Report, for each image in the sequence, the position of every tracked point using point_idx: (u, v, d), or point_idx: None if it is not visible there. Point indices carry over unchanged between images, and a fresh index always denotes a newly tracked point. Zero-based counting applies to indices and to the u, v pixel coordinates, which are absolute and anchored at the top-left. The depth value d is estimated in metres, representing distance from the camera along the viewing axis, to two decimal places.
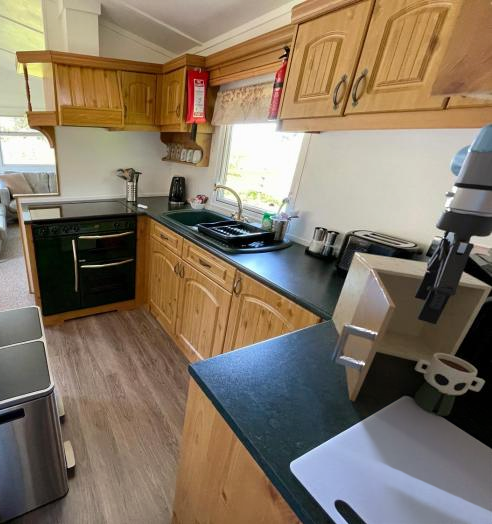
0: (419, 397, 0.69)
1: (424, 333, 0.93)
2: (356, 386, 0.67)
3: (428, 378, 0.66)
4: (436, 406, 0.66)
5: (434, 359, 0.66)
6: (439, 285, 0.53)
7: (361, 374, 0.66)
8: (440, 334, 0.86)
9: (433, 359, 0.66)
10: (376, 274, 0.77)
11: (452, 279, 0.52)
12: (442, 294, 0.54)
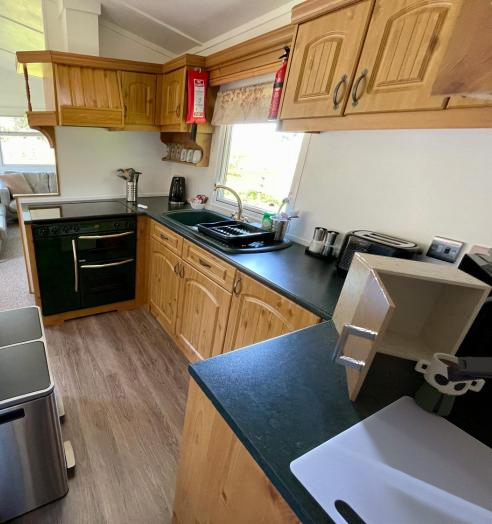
0: (419, 397, 0.69)
1: (424, 333, 0.93)
2: (356, 386, 0.67)
3: (428, 378, 0.66)
4: (436, 406, 0.66)
5: (434, 359, 0.66)
6: (463, 358, 0.50)
7: (361, 374, 0.66)
8: (440, 334, 0.86)
9: (433, 359, 0.66)
10: (376, 274, 0.77)
11: (476, 366, 0.48)
12: None
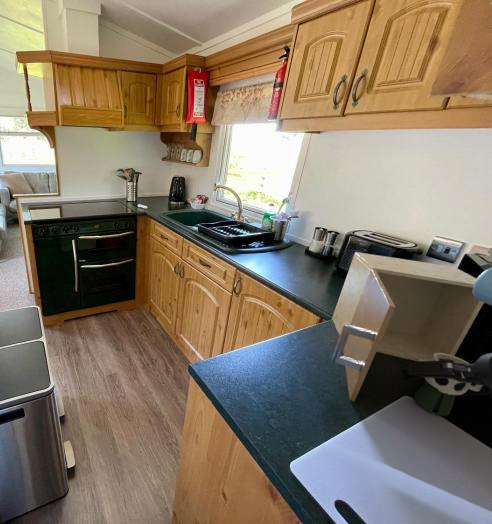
0: (419, 397, 0.69)
1: (424, 333, 0.93)
2: (356, 386, 0.67)
3: (428, 378, 0.66)
4: (436, 406, 0.66)
5: (434, 359, 0.66)
6: (410, 362, 0.65)
7: (361, 374, 0.66)
8: (440, 334, 0.86)
9: (433, 359, 0.66)
10: (376, 274, 0.77)
11: (417, 368, 0.63)
12: None
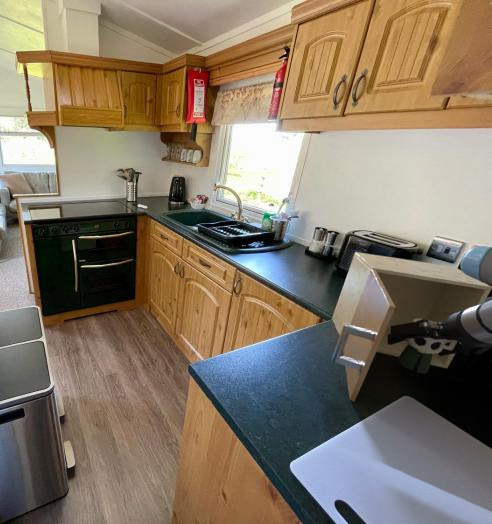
0: (402, 358, 0.78)
1: None
2: (356, 386, 0.67)
3: (409, 340, 0.75)
4: (416, 365, 0.75)
5: None
6: (392, 326, 0.74)
7: (361, 374, 0.66)
8: None
9: None
10: (376, 274, 0.77)
11: (398, 330, 0.72)
12: None
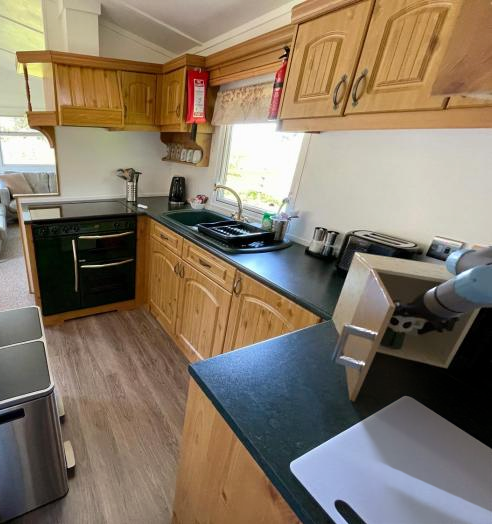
0: None
1: None
2: (356, 386, 0.67)
3: None
4: (391, 342, 0.87)
5: None
6: None
7: (361, 374, 0.66)
8: (440, 334, 0.86)
9: None
10: (376, 274, 0.77)
11: None
12: None
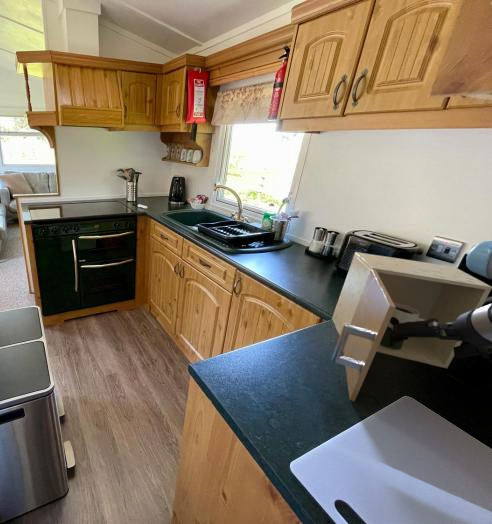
0: None
1: None
2: (356, 386, 0.67)
3: None
4: None
5: None
6: (396, 324, 0.71)
7: (361, 374, 0.66)
8: None
9: None
10: (376, 274, 0.77)
11: (403, 328, 0.69)
12: None
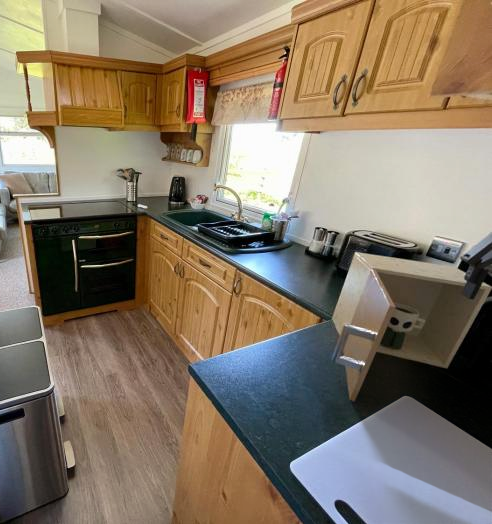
0: None
1: (424, 333, 0.93)
2: (356, 386, 0.67)
3: None
4: (391, 342, 0.87)
5: None
6: (464, 254, 0.59)
7: (361, 374, 0.66)
8: (440, 334, 0.86)
9: None
10: (376, 274, 0.77)
11: (476, 249, 0.57)
12: (471, 265, 0.58)
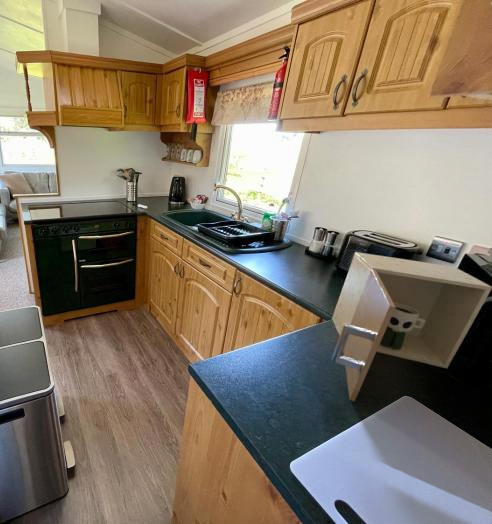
0: None
1: (424, 333, 0.93)
2: (356, 386, 0.67)
3: None
4: (391, 342, 0.87)
5: None
6: None
7: (361, 374, 0.66)
8: (440, 334, 0.86)
9: None
10: (376, 274, 0.77)
11: None
12: None
